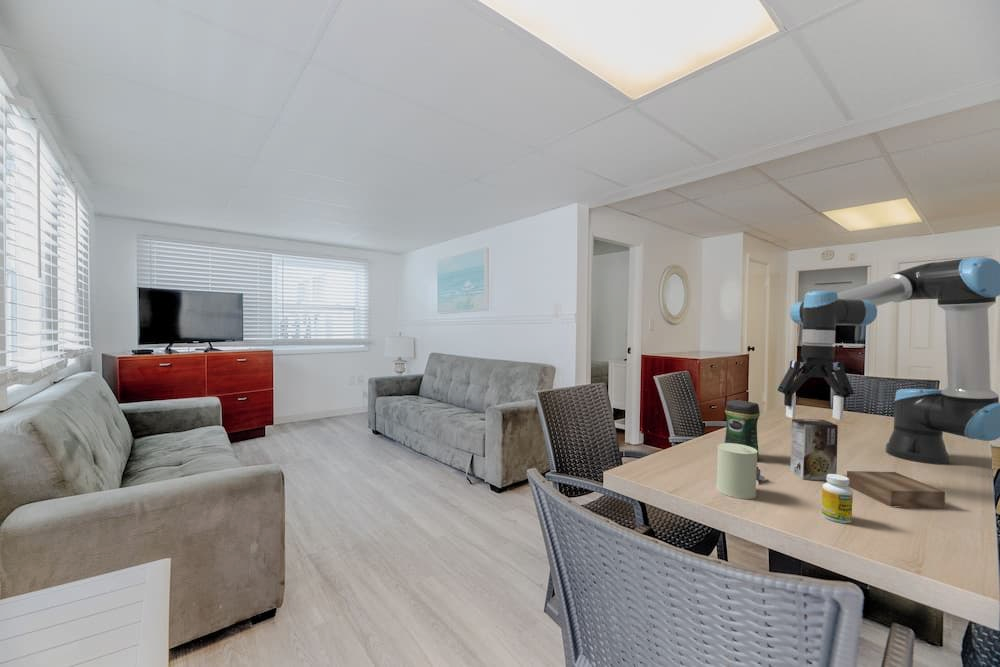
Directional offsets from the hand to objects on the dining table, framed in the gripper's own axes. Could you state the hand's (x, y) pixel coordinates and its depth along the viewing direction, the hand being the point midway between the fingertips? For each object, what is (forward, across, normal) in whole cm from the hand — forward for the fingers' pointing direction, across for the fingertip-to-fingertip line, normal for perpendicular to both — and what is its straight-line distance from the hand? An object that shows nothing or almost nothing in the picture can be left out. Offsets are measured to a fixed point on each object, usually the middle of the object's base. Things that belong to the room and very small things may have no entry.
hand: (813, 418), depth 120 cm
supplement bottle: (+17, +14, +26) cm, 34 cm away
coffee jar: (+17, +10, -17) cm, 26 cm away
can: (+18, +28, +12) cm, 36 cm away
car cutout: (+18, +15, +2) cm, 24 cm away
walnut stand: (+17, -12, +13) cm, 24 cm away
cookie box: (+17, 0, 0) cm, 17 cm away
